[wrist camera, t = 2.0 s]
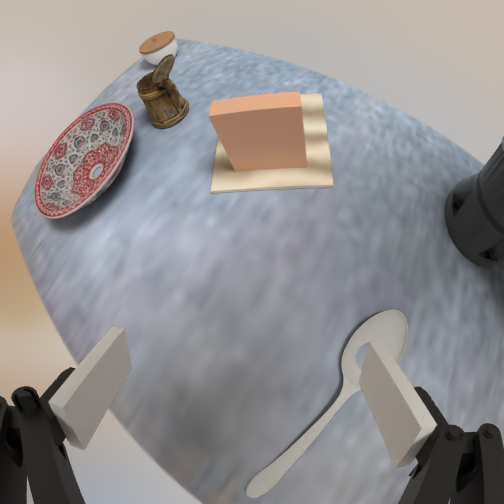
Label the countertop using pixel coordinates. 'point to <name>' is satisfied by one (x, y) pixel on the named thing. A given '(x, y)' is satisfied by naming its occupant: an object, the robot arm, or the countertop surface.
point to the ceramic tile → (261, 131)
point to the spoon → (373, 330)
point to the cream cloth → (285, 178)
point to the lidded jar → (159, 47)
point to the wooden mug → (162, 96)
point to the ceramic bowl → (84, 160)
